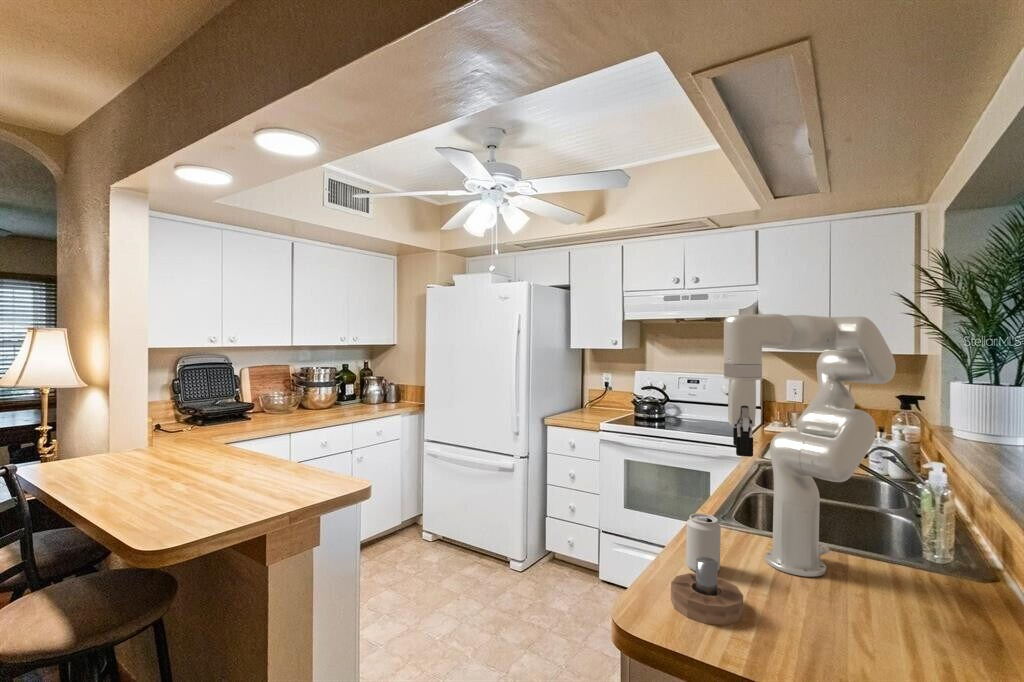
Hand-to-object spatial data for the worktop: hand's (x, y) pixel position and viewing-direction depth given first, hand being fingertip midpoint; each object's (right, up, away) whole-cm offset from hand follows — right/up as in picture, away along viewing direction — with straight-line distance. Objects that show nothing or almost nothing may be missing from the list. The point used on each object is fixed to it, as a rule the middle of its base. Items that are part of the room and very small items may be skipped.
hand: (742, 450), depth 109 cm
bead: (-11, -29, -9) cm, 32 cm away
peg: (-11, -29, -9) cm, 33 cm away
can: (-6, -29, +8) cm, 31 cm away
